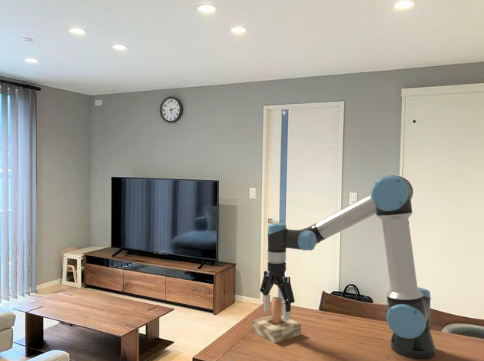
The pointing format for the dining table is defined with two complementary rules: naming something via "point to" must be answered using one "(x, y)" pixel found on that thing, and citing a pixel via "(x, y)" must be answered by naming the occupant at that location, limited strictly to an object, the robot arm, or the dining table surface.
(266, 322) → the socket block
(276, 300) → the peg
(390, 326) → the robot arm
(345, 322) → the dining table surface
